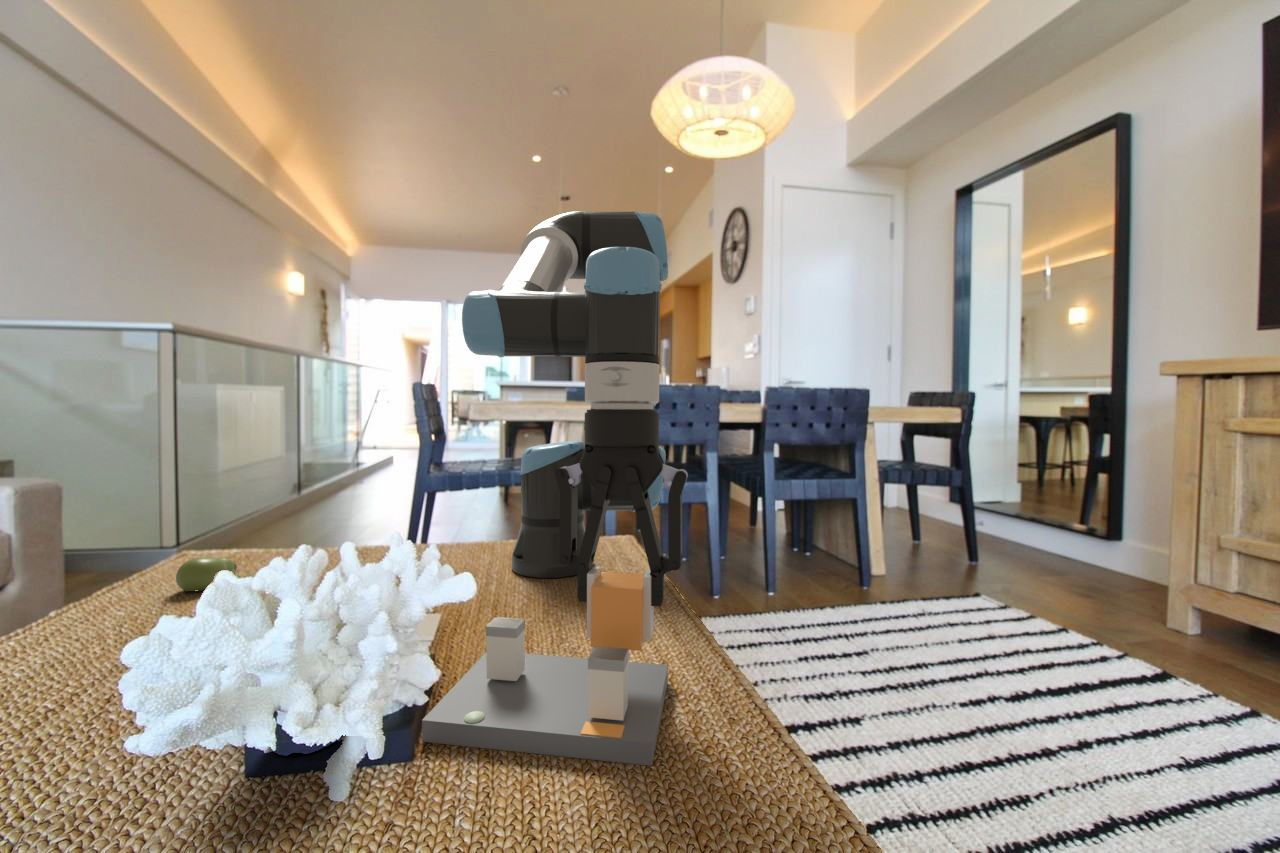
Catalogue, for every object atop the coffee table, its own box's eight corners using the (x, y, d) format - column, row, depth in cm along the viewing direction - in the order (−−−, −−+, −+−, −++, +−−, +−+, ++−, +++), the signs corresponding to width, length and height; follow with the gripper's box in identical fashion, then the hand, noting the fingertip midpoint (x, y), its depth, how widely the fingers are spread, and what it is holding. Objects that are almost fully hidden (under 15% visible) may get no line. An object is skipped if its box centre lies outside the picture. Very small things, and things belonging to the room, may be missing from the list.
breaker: (495, 667, 59) (495, 616, 58) (525, 669, 58) (525, 618, 58) (485, 678, 56) (485, 626, 56) (516, 681, 56) (516, 628, 55)
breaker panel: (487, 667, 63) (487, 649, 63) (667, 682, 60) (668, 663, 60) (422, 741, 49) (422, 719, 49) (651, 765, 46) (652, 741, 46)
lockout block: (601, 627, 59) (602, 571, 58) (647, 630, 58) (648, 574, 58) (590, 646, 54) (591, 586, 53) (640, 650, 53) (641, 589, 53)
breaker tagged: (594, 702, 52) (594, 645, 52) (628, 705, 51) (628, 648, 51) (587, 717, 49) (587, 658, 49) (623, 720, 49) (623, 660, 49)
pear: (168, 560, 86) (214, 553, 96) (164, 595, 85) (212, 584, 95) (204, 559, 86) (247, 552, 96) (202, 594, 85) (245, 583, 95)
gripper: (523, 406, 53) (523, 643, 54) (711, 407, 50) (708, 657, 51) (547, 406, 60) (547, 614, 61) (712, 407, 57) (709, 625, 58)
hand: (620, 633), depth 56 cm, fingers closed on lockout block, 5 cm apart
